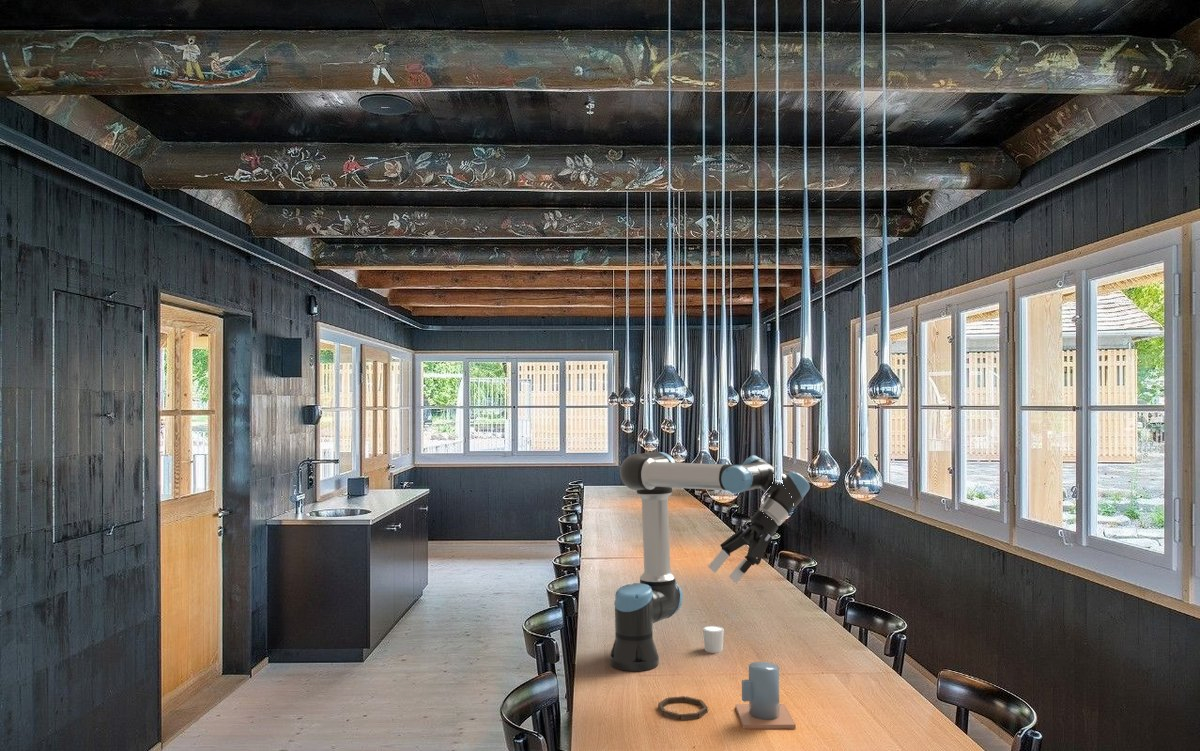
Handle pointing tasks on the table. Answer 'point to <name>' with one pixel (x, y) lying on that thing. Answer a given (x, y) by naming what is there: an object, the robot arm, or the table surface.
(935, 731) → the table surface
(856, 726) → the table surface
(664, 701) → the walnut collar
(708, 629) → the white tapered cylinder
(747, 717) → the terracotta tile
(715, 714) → the table surface
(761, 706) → the grey canister
